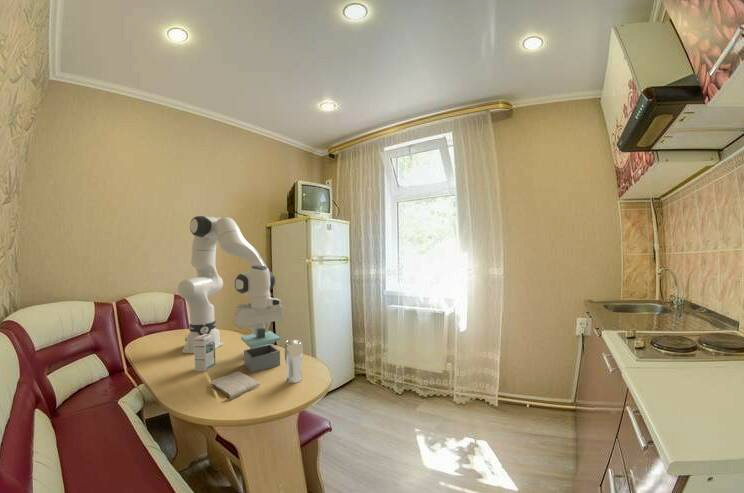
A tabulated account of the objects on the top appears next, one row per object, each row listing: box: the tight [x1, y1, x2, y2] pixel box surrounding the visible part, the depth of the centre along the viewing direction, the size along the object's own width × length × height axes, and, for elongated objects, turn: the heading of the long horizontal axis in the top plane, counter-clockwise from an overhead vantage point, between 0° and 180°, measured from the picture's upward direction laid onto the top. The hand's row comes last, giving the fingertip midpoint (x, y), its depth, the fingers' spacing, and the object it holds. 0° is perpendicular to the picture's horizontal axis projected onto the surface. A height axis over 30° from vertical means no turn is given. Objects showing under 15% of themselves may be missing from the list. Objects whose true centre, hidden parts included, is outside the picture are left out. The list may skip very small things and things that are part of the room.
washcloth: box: [209, 370, 261, 400], centre depth 107 cm, size 12×18×3 cm, turn 53°
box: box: [243, 344, 281, 374], centre depth 124 cm, size 12×12×7 cm
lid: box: [240, 328, 281, 348], centre depth 125 cm, size 13×13×6 cm
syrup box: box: [193, 334, 216, 372], centre depth 124 cm, size 6×6×14 cm
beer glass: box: [284, 339, 304, 384], centre depth 111 cm, size 7×7×15 cm
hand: (260, 333), depth 125 cm, fingers closed on lid, 3 cm apart
